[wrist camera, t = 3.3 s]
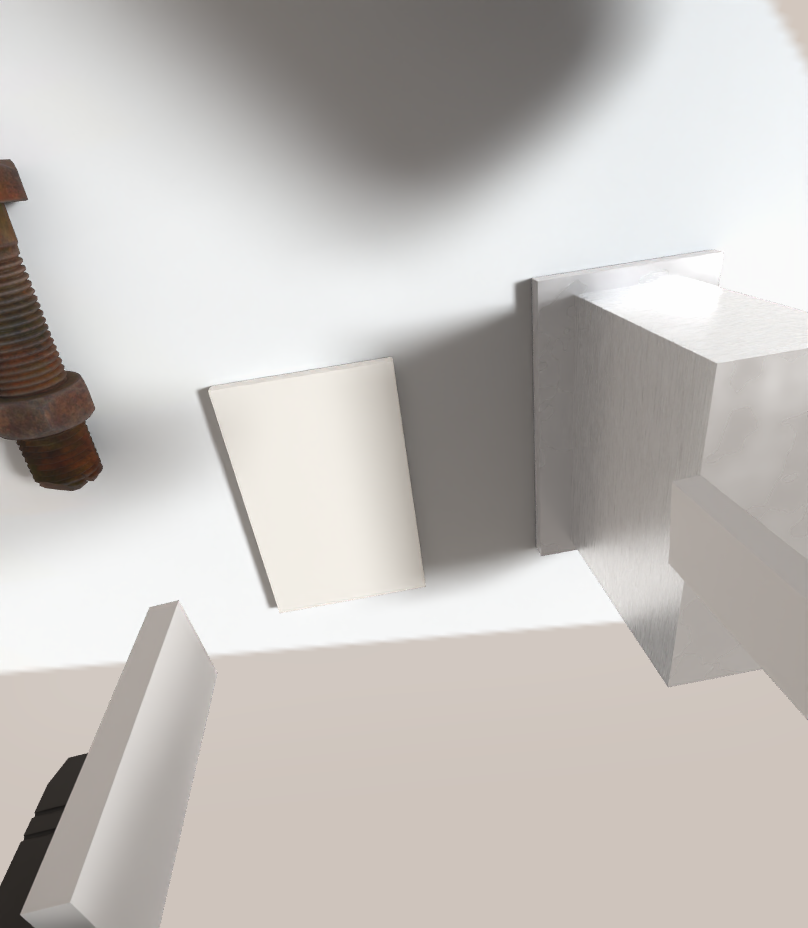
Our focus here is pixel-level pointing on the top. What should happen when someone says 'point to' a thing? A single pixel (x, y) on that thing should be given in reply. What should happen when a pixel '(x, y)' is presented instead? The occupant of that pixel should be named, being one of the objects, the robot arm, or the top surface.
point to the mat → (324, 481)
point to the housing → (664, 434)
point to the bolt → (38, 372)
